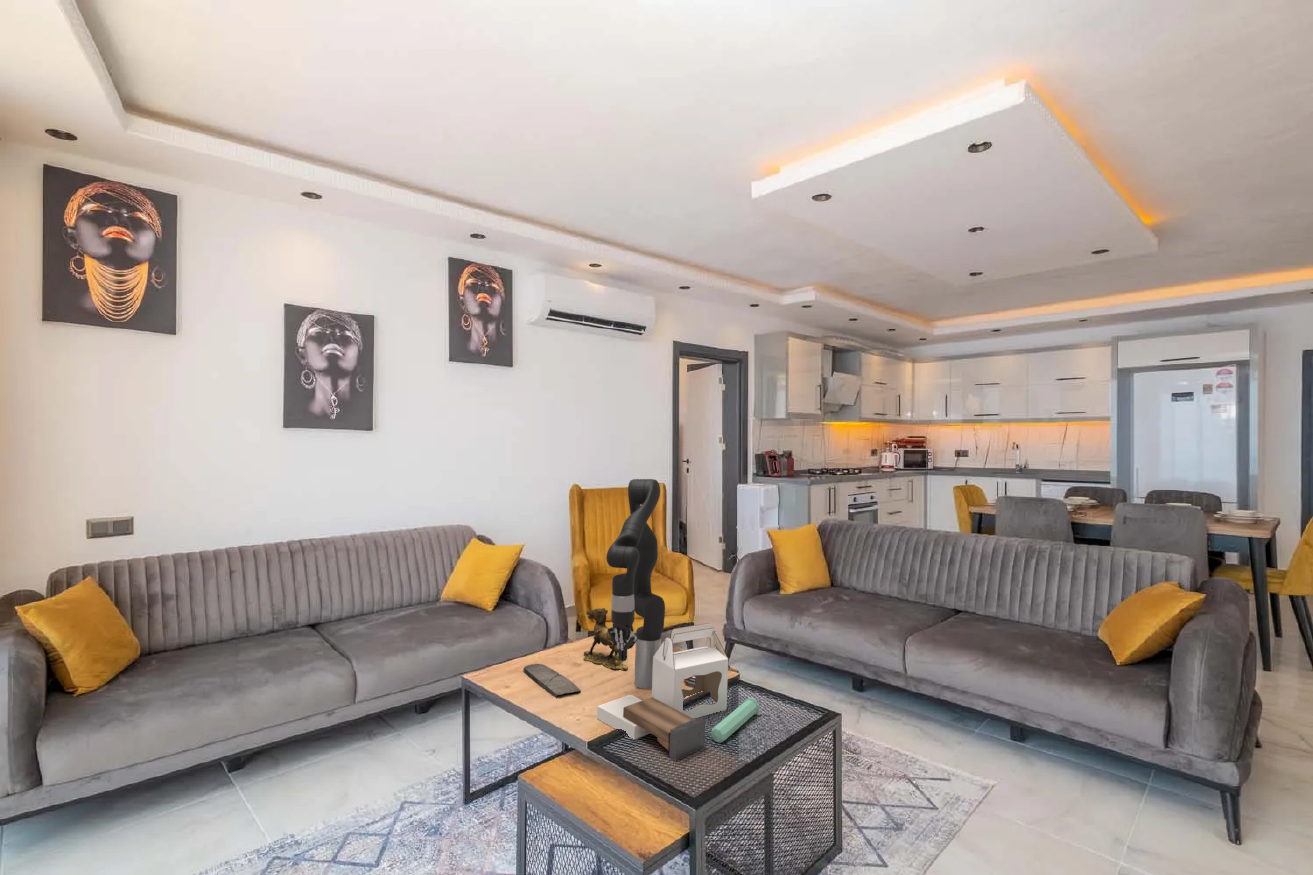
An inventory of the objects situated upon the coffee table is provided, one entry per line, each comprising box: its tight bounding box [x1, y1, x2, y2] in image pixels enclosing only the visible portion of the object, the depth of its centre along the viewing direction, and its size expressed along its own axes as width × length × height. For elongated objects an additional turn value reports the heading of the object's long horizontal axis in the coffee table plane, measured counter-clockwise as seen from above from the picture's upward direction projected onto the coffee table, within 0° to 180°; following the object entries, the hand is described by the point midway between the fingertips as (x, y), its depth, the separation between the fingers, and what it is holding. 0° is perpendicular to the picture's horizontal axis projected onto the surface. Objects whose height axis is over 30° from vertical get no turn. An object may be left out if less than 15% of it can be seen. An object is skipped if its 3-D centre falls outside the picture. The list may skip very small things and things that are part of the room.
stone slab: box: [523, 663, 581, 698], centre depth 228 cm, size 10×3×30 cm
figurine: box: [583, 607, 629, 672], centre depth 250 cm, size 13×25×20 cm, turn 42°
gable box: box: [651, 622, 729, 719], centre depth 209 cm, size 22×13×28 cm, turn 122°
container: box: [711, 696, 760, 744], centre depth 197 cm, size 6×6×25 cm
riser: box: [596, 694, 651, 740], centre depth 198 cm, size 14×18×4 cm
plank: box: [623, 696, 695, 743], centre depth 189 cm, size 12×20×3 cm, turn 43°
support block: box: [657, 737, 670, 751], centre depth 186 cm, size 5×6×4 cm
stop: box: [669, 717, 706, 762], centre depth 181 cm, size 12×2×8 cm, turn 134°
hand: (622, 660), depth 203 cm, fingers closed
